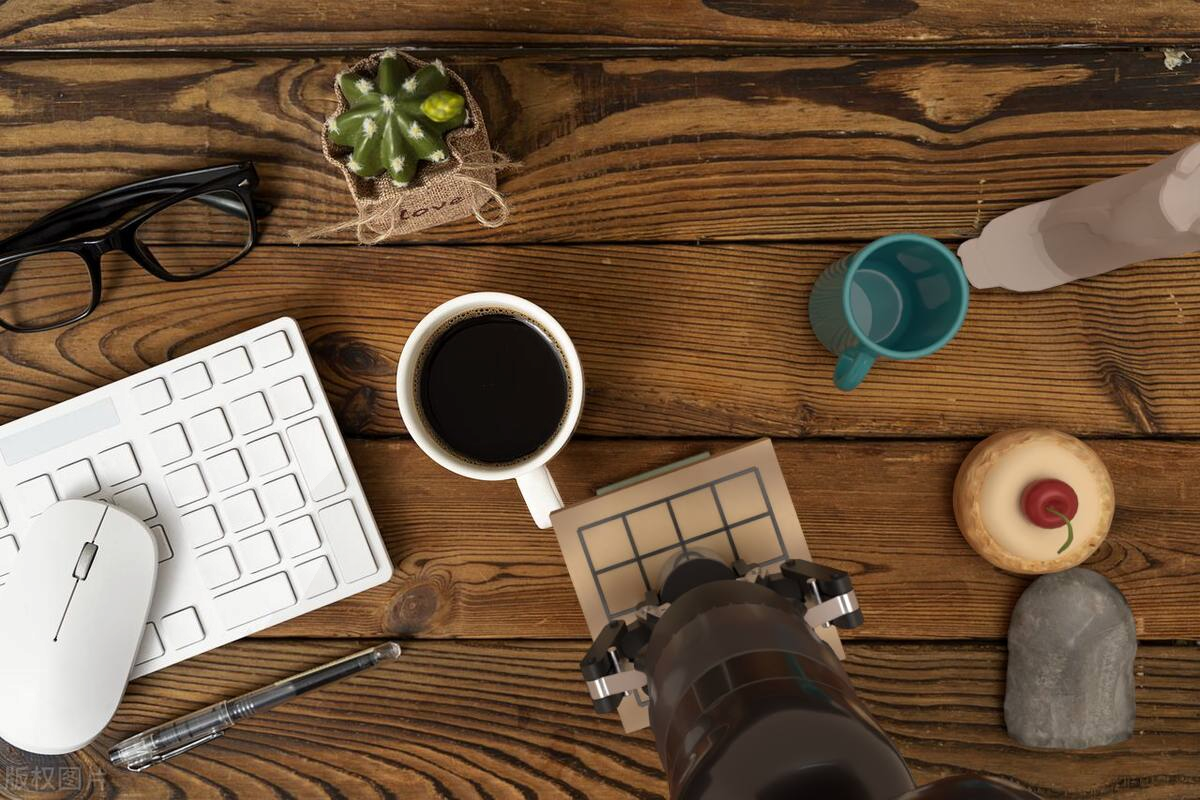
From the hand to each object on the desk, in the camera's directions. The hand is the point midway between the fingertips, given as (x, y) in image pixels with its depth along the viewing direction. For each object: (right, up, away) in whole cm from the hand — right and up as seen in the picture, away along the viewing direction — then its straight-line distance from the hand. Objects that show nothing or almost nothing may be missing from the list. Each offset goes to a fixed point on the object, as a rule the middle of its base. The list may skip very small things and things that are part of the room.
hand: (699, 591), depth 50 cm
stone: (+33, -10, +23) cm, 42 cm away
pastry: (+29, +3, +22) cm, 37 cm away
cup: (+15, +18, +22) cm, 32 cm away
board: (0, +1, +23) cm, 23 cm away
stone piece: (0, 0, +1) cm, 1 cm away
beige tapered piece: (+31, +24, +22) cm, 45 cm away
